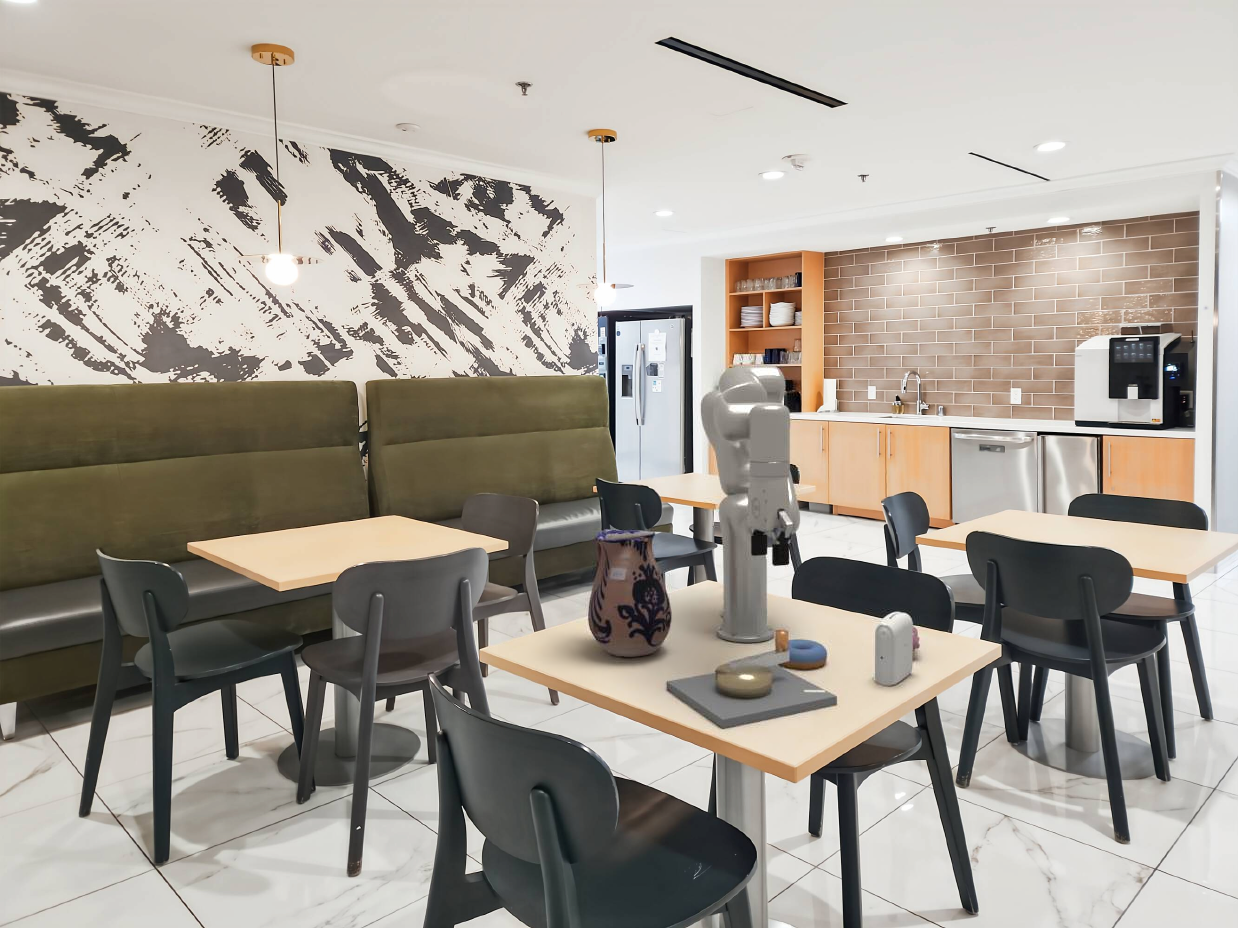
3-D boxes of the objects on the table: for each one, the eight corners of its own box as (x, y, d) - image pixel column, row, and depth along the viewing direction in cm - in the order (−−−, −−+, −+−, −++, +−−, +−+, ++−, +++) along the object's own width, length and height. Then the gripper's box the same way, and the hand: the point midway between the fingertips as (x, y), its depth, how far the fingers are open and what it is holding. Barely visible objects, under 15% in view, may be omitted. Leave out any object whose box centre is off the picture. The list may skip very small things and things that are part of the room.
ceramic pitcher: (625, 671, 168) (623, 545, 166) (562, 646, 185) (559, 532, 182) (689, 652, 179) (688, 534, 177) (624, 630, 196) (622, 522, 193)
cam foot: (741, 702, 146) (741, 653, 146) (704, 685, 155) (703, 639, 154) (806, 682, 155) (806, 636, 154) (767, 667, 163) (767, 624, 163)
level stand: (666, 689, 158) (666, 680, 158) (771, 670, 167) (771, 661, 167) (722, 728, 140) (722, 718, 140) (836, 704, 149) (837, 694, 149)
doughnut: (796, 673, 165) (797, 649, 165) (765, 660, 174) (767, 638, 174) (837, 669, 169) (838, 646, 169) (805, 658, 178) (806, 636, 178)
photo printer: (893, 687, 157) (894, 621, 155) (871, 683, 159) (872, 618, 158) (915, 672, 164) (916, 609, 163) (893, 668, 167) (894, 606, 166)
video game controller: (909, 669, 171) (926, 639, 170) (888, 658, 172) (905, 628, 171) (902, 653, 181) (919, 625, 180) (882, 643, 181) (898, 614, 180)
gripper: (733, 467, 169) (733, 552, 171) (770, 475, 152) (770, 571, 154) (768, 465, 171) (768, 550, 172) (809, 474, 154) (808, 567, 156)
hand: (769, 559), depth 163 cm, fingers open, 9 cm apart
